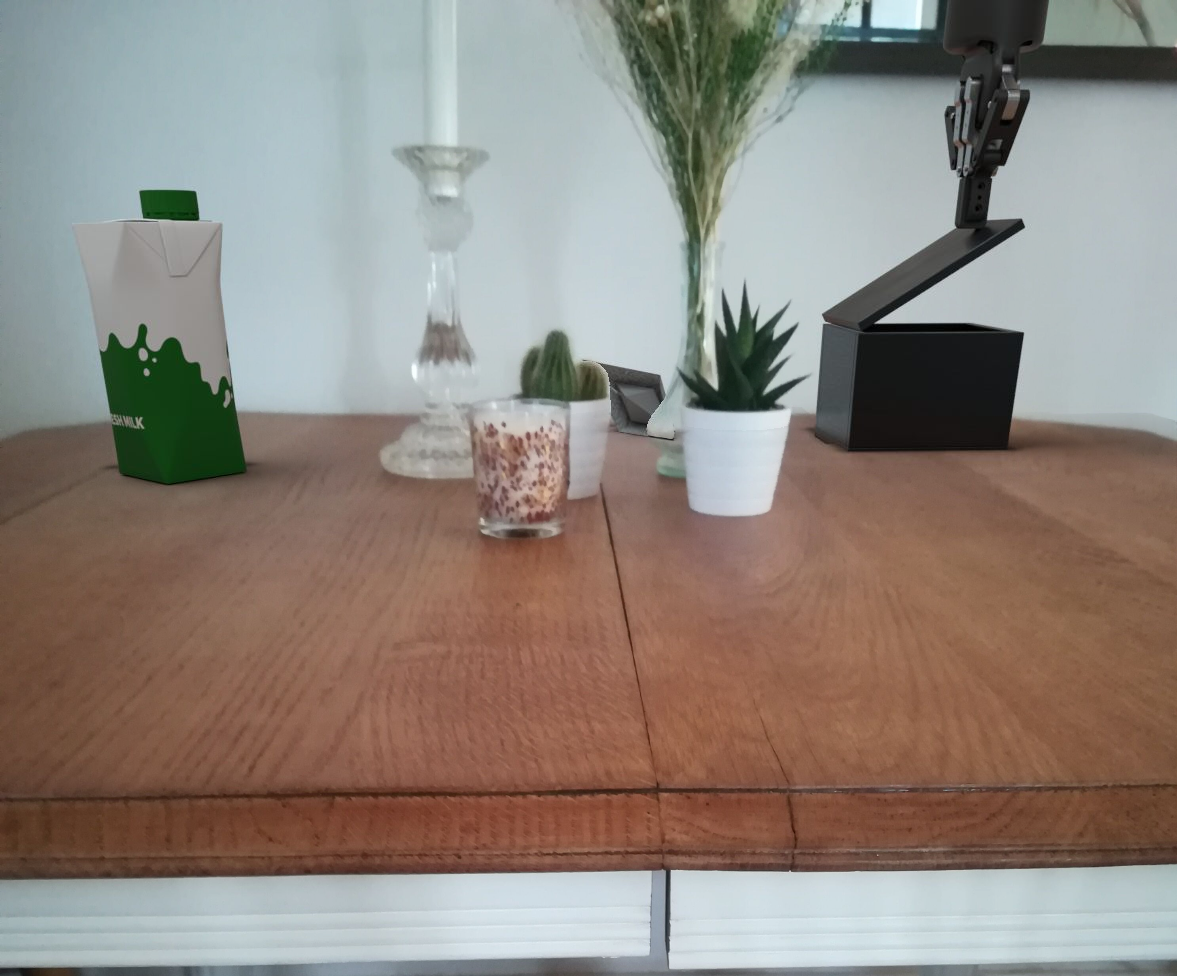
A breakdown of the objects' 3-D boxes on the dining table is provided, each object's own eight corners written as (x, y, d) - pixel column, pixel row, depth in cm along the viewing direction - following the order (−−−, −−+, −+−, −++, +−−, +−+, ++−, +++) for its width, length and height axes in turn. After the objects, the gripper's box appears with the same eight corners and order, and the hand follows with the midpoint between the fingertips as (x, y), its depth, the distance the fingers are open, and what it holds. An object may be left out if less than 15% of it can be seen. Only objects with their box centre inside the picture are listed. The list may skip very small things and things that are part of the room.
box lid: (970, 229, 102) (966, 220, 102) (1025, 227, 91) (1022, 217, 90) (825, 322, 105) (821, 314, 104) (861, 331, 93) (857, 322, 93)
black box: (956, 434, 109) (971, 322, 105) (1006, 456, 98) (1024, 332, 94) (814, 435, 109) (822, 323, 105) (847, 458, 97) (858, 333, 93)
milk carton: (263, 471, 92) (230, 190, 84) (160, 488, 86) (113, 185, 78) (201, 459, 98) (164, 193, 89) (100, 474, 91) (50, 189, 83)
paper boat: (716, 418, 111) (687, 402, 102) (675, 474, 113) (643, 462, 105) (625, 344, 113) (590, 322, 105) (587, 399, 116) (549, 382, 107)
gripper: (1086, -41, 83) (1046, 227, 90) (1015, -5, 95) (985, 229, 102) (983, -42, 83) (951, 227, 90) (925, -6, 95) (901, 229, 102)
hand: (969, 228), depth 96 cm, fingers closed
